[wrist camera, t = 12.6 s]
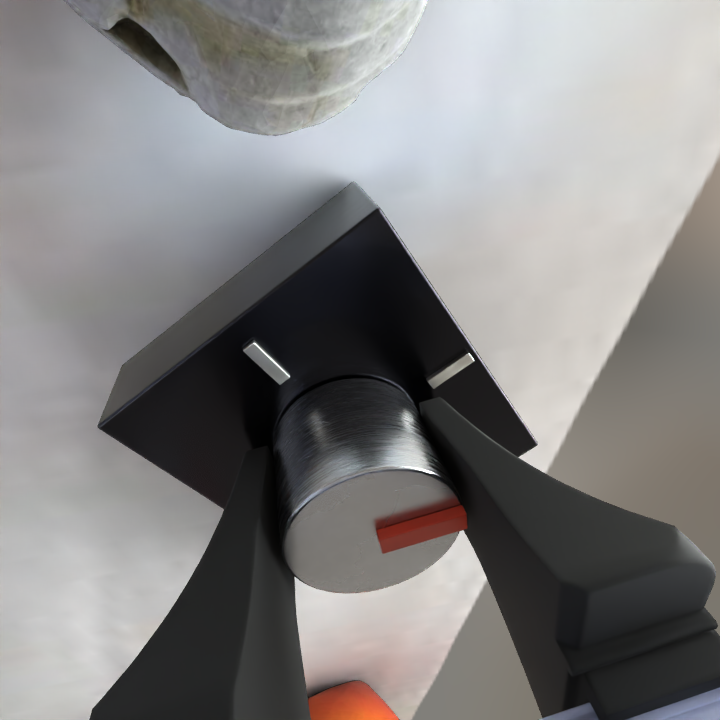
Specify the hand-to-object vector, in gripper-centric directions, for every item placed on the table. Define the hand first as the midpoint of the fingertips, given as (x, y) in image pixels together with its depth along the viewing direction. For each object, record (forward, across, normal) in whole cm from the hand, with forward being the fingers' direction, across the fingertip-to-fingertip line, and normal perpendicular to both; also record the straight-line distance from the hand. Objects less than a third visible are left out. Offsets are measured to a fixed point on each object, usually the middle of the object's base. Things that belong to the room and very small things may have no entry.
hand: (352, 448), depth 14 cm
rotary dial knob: (0, 0, 0) cm, 0 cm away
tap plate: (+3, 0, 0) cm, 3 cm away
